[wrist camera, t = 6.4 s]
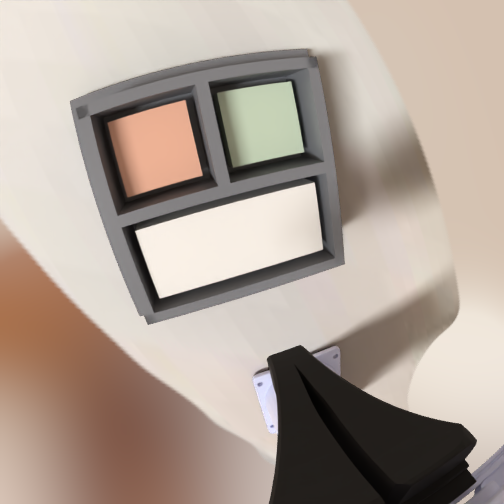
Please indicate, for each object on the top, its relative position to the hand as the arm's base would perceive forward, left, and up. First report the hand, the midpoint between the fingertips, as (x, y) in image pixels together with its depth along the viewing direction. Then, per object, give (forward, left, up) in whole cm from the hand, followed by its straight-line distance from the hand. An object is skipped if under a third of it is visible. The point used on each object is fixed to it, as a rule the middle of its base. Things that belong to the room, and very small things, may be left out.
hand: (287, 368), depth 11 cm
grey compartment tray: (+6, 0, -10) cm, 12 cm away
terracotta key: (+8, +3, -9) cm, 13 cm away
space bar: (+3, 0, -8) cm, 9 cm away
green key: (+8, -3, -9) cm, 13 cm away
